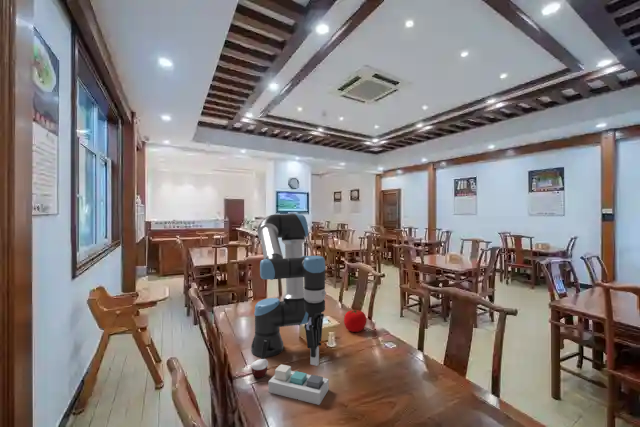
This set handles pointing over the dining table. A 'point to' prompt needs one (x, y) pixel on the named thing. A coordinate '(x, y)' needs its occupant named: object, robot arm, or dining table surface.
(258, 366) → the cocoa
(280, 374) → the ivory key
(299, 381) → the teal key
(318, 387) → the charcoal key
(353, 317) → the red apple
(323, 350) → the dining table surface
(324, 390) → the console
